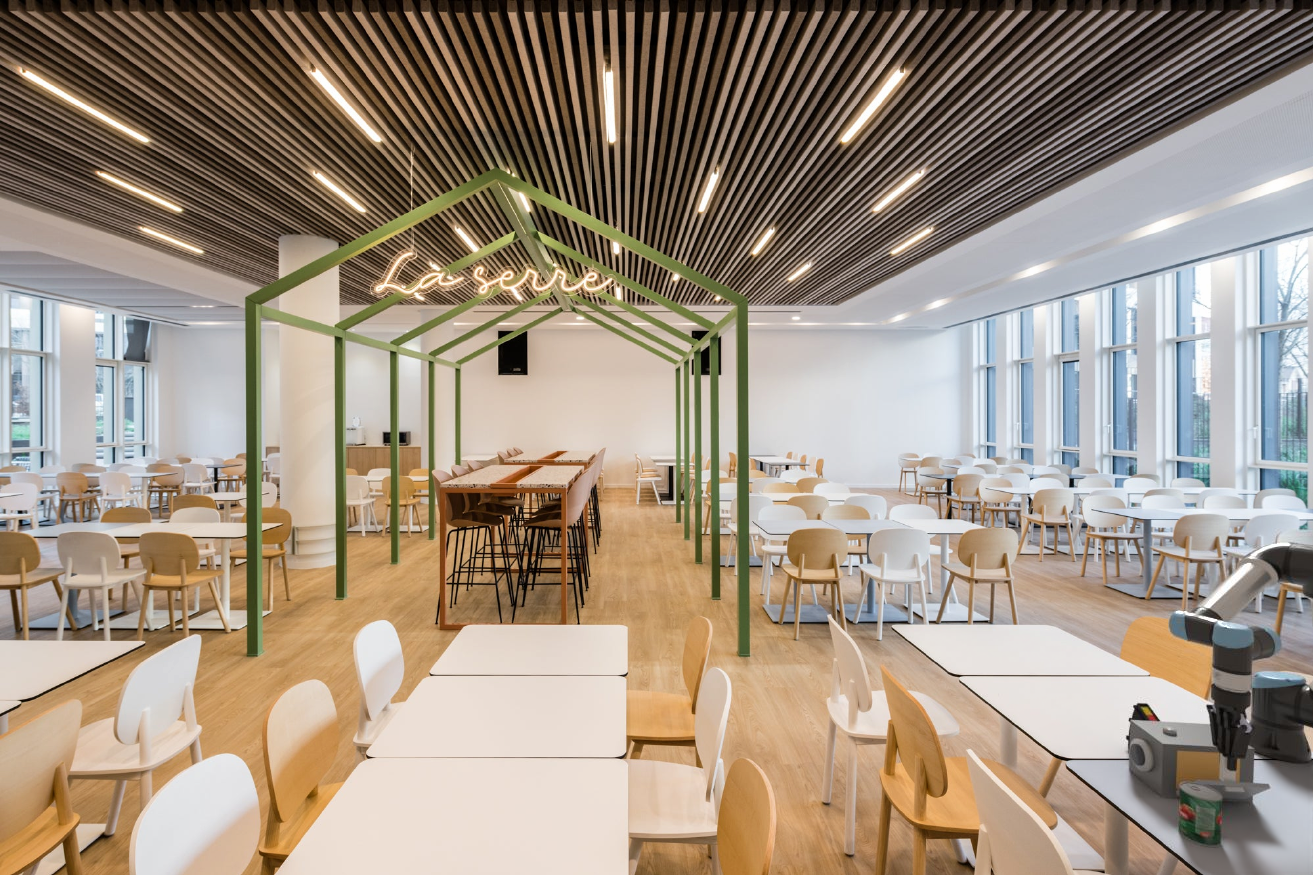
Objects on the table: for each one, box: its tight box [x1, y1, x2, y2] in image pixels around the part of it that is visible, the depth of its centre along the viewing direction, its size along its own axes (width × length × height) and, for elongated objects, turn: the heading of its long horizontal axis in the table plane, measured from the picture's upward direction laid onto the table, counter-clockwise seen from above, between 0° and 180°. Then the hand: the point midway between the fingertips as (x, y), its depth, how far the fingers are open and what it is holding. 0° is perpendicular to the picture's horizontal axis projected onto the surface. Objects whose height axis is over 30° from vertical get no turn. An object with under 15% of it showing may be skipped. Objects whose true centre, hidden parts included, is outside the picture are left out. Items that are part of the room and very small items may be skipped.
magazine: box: [1125, 702, 1162, 749], centre depth 194 cm, size 4×13×15 cm, turn 177°
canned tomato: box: [1177, 782, 1223, 848], centre depth 157 cm, size 8×8×11 cm
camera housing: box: [1128, 720, 1255, 804], centre depth 180 cm, size 24×14×15 cm, turn 84°
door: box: [1175, 780, 1271, 799], centre depth 167 cm, size 2×16×11 cm
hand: (1227, 780), depth 166 cm, fingers closed
